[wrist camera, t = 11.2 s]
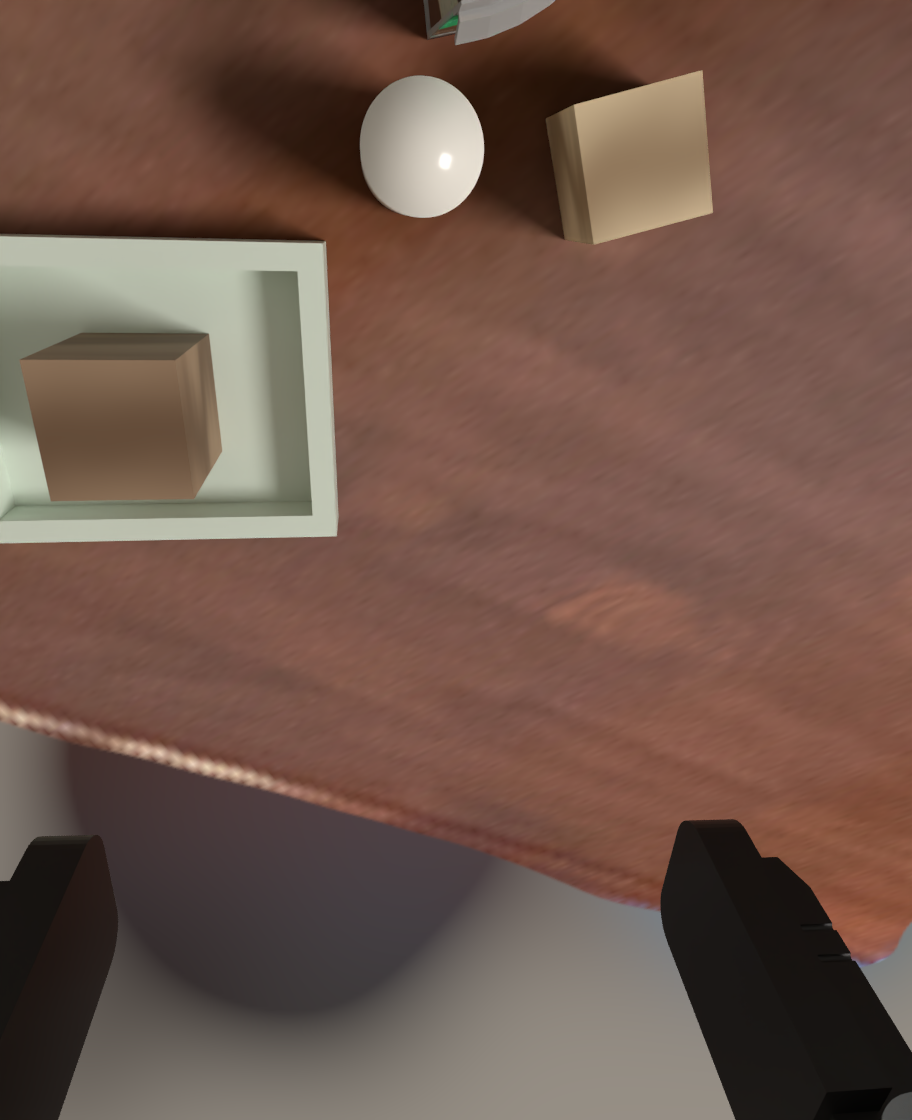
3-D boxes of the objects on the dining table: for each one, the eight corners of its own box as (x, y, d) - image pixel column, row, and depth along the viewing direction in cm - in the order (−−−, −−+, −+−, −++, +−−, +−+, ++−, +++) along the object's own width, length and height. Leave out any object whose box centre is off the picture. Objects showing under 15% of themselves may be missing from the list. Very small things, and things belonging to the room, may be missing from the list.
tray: (-71, 232, 28) (-107, 233, 26) (325, 240, 30) (322, 243, 28) (3, 522, 34) (-23, 543, 31) (338, 516, 35) (336, 536, 33)
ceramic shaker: (359, 98, 28) (357, 72, 23) (463, 102, 29) (486, 78, 23) (362, 214, 30) (361, 216, 24) (460, 217, 30) (481, 218, 25)
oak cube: (544, 119, 29) (573, 104, 25) (655, 89, 29) (702, 70, 25) (564, 239, 31) (593, 244, 27) (667, 212, 31) (712, 212, 27)
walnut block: (81, 332, 30) (19, 359, 25) (208, 333, 31) (175, 360, 25) (103, 452, 32) (50, 501, 27) (222, 451, 33) (194, 499, 27)
